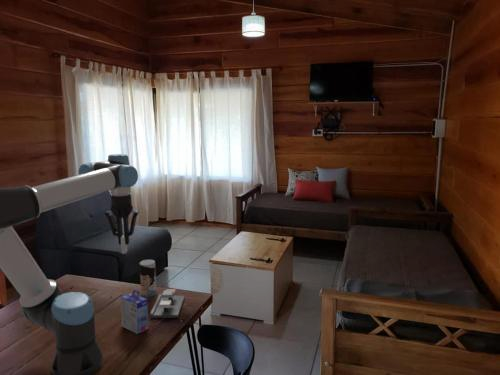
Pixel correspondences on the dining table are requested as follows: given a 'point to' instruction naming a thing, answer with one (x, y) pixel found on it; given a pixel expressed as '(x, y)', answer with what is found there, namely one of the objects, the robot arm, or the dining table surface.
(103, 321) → the dining table surface
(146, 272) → the printed cylindrical canister
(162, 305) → the key cream
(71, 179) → the robot arm
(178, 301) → the keypad board
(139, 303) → the ink cartridge box
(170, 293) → the key grey
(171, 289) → the key terracotta
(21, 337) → the dining table surface
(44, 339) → the dining table surface
